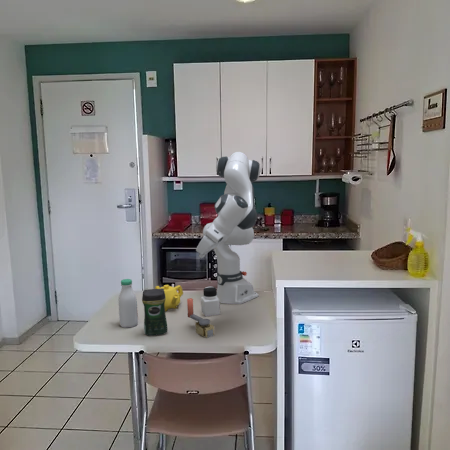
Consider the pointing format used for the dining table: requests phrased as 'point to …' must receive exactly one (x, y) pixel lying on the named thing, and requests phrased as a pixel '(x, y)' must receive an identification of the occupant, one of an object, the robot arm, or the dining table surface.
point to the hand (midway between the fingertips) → (201, 256)
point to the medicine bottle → (210, 302)
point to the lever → (195, 317)
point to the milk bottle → (127, 305)
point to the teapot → (171, 296)
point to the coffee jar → (154, 312)
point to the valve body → (204, 330)
